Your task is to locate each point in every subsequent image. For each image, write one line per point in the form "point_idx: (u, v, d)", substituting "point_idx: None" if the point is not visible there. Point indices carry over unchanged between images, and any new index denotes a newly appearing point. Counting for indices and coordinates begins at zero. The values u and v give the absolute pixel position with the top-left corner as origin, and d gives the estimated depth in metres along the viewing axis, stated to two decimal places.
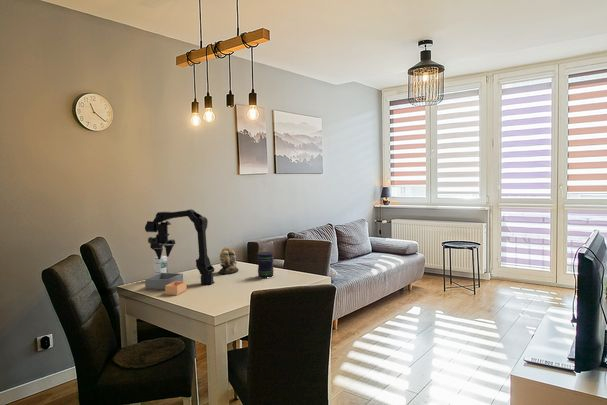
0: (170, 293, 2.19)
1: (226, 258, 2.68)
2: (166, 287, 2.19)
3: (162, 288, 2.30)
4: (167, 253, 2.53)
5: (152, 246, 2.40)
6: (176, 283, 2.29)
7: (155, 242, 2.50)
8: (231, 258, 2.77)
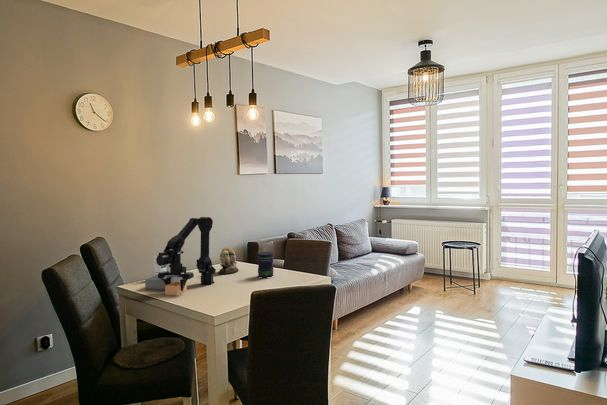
0: (170, 293, 2.19)
1: (226, 258, 2.68)
2: (166, 287, 2.19)
3: (162, 288, 2.30)
4: None
5: None
6: (176, 283, 2.29)
7: None
8: (231, 258, 2.77)
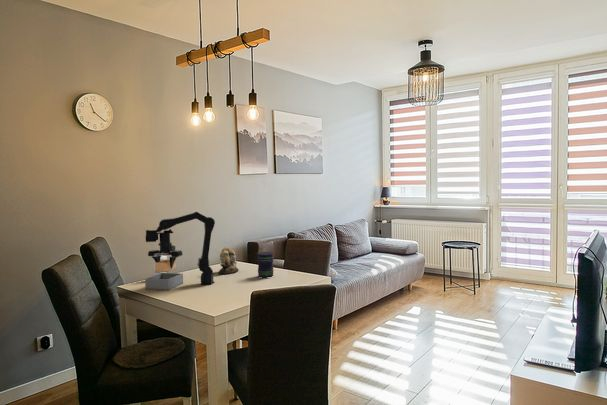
0: (160, 270, 2.31)
1: (226, 258, 2.68)
2: (156, 264, 2.31)
3: (162, 288, 2.30)
4: None
5: None
6: (165, 261, 2.40)
7: None
8: (231, 258, 2.77)
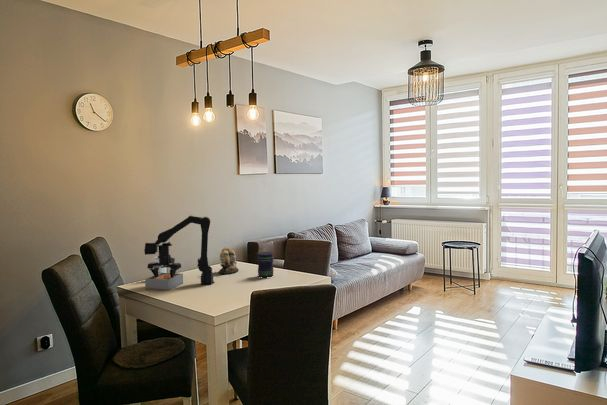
0: None
1: (226, 258, 2.68)
2: None
3: (162, 288, 2.30)
4: None
5: None
6: (165, 276, 2.43)
7: None
8: (231, 258, 2.77)
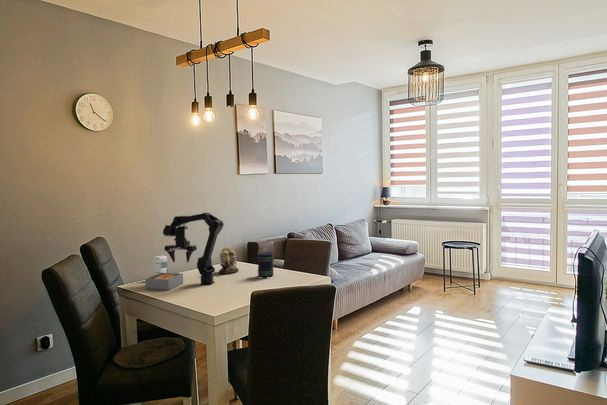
0: None
1: (226, 258, 2.68)
2: None
3: (162, 288, 2.30)
4: None
5: None
6: (165, 276, 2.43)
7: None
8: (231, 258, 2.77)
